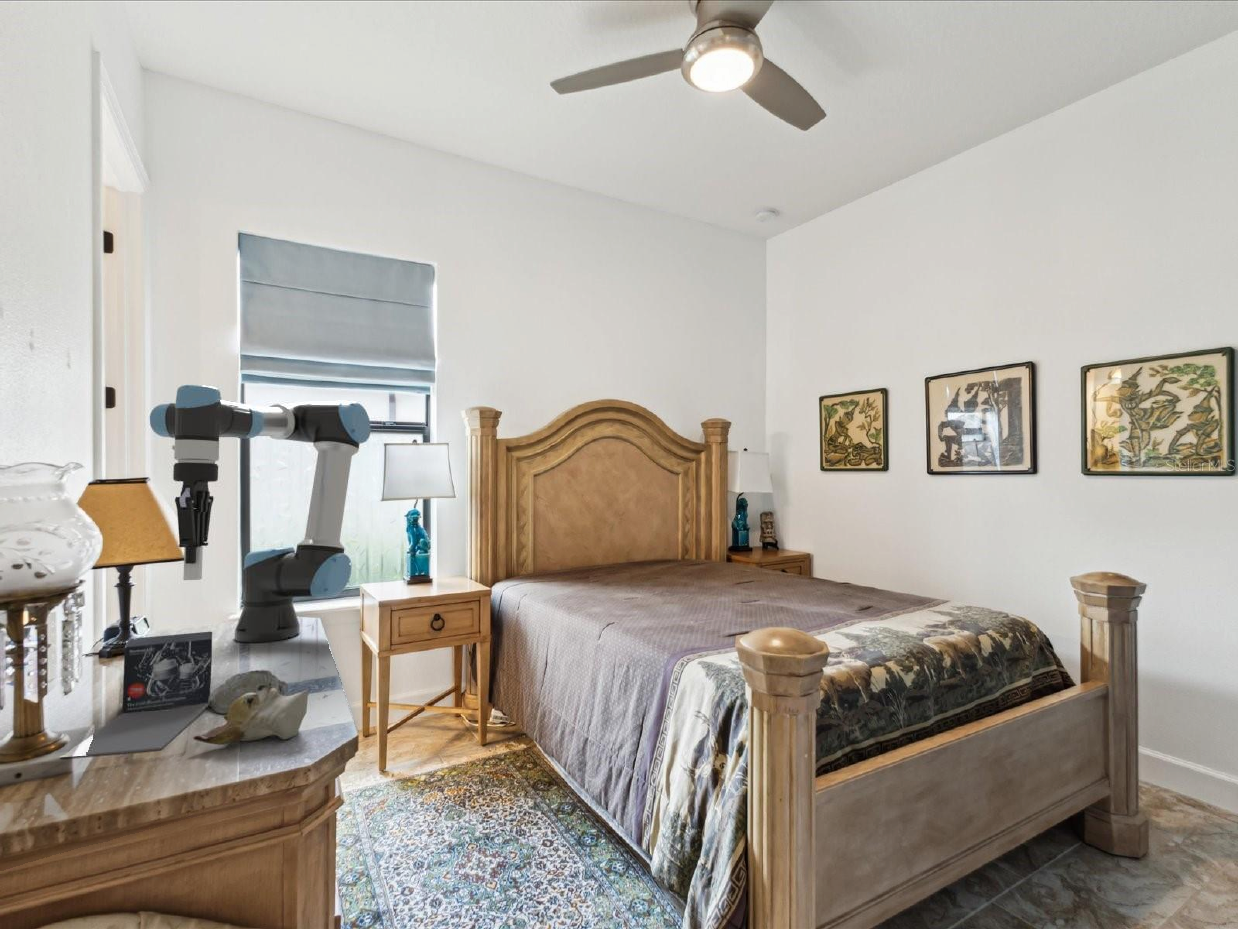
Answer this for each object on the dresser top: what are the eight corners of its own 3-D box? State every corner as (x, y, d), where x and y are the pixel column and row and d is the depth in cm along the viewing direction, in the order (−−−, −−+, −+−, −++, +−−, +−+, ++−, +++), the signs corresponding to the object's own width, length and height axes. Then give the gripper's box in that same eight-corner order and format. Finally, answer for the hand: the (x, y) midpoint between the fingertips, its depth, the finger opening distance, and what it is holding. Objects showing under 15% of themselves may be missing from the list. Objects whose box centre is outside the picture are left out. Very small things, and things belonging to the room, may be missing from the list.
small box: (120, 716, 109) (122, 647, 110) (125, 704, 115) (127, 638, 116) (210, 702, 117) (212, 637, 117) (210, 692, 122) (212, 630, 123)
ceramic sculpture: (294, 691, 96) (189, 701, 95) (296, 748, 96) (191, 759, 94) (318, 671, 107) (224, 680, 105) (320, 723, 107) (226, 732, 105)
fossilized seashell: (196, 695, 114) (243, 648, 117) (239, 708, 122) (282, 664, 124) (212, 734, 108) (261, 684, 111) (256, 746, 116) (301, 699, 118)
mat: (122, 715, 110) (122, 713, 110) (206, 708, 113) (206, 707, 113) (60, 758, 92) (60, 756, 92) (161, 749, 96) (161, 747, 96)
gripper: (188, 463, 132) (184, 575, 131) (160, 460, 120) (156, 584, 119) (228, 463, 134) (225, 574, 133) (205, 461, 122) (201, 583, 121)
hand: (192, 579), depth 126 cm, fingers closed
